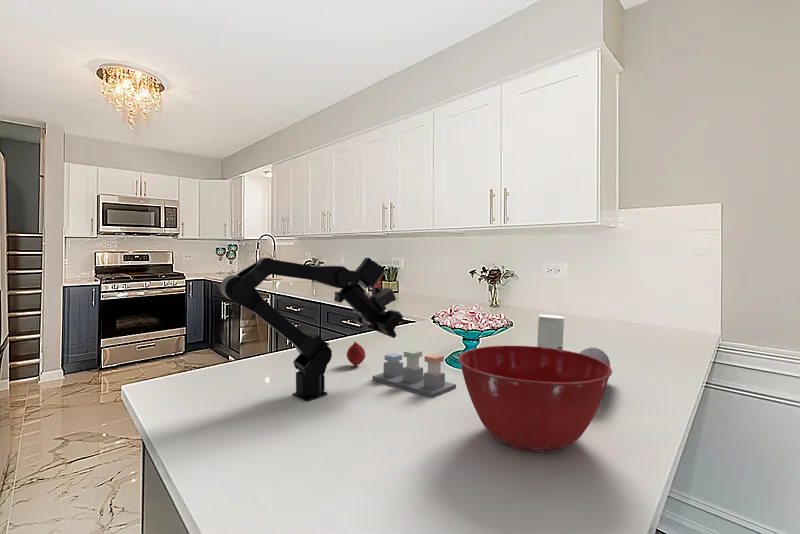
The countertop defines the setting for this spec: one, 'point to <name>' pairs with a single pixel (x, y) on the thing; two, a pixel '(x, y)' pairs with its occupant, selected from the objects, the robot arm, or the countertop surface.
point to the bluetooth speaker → (596, 354)
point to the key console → (414, 380)
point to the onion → (356, 354)
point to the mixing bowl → (534, 393)
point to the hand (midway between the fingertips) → (394, 336)
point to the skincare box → (550, 331)
